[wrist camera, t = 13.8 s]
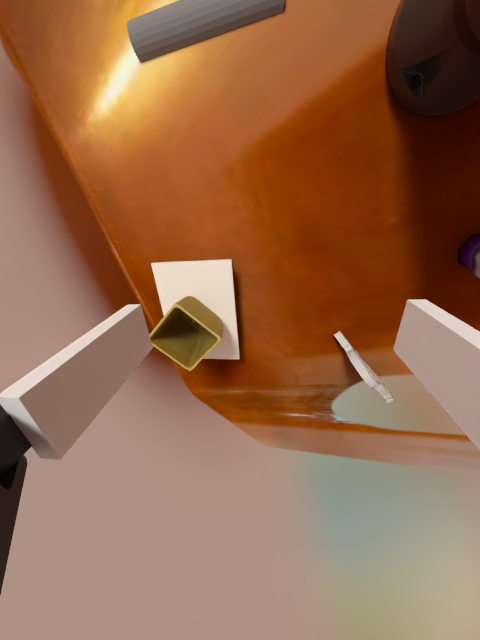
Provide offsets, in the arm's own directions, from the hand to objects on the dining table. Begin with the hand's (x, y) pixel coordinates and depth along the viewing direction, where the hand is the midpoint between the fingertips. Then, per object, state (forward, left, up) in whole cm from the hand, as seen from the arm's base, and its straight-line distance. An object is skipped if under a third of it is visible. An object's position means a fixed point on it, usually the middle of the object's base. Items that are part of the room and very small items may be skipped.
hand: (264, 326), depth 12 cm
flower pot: (+13, +12, -27) cm, 32 cm away
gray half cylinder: (+8, -27, -31) cm, 42 cm away
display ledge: (+13, +12, -31) cm, 35 cm away
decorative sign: (-19, +25, -31) cm, 44 cm away
